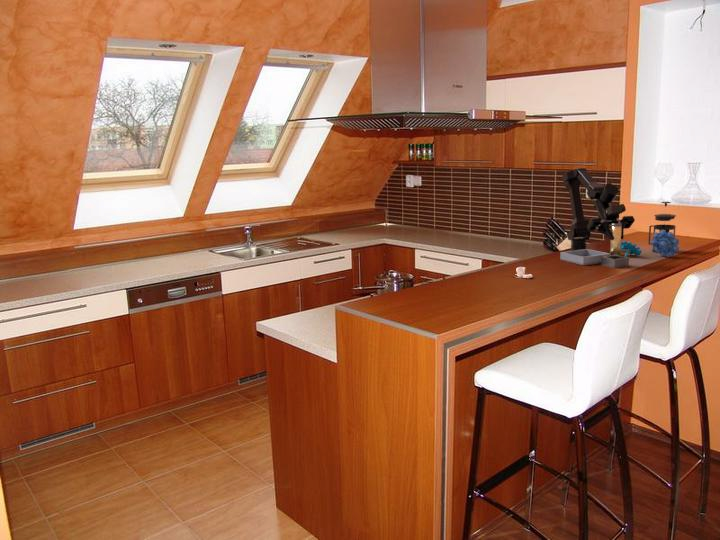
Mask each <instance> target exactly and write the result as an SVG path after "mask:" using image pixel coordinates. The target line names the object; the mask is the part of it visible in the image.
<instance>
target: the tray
mask: <svg viewBox="0 0 720 540" xmlns="http://www.w3.org/2000/svg"><path fill="white" fill-rule="evenodd" d="M559 253H560V255H559V256H560V258H559V259H560V261H563V262H568V263H573V264H575V265H580V266H589V265H596V264H601V257H604V256H612V255H611V254H610V252H609V253H608V252H604V251H599V250H594V249H588V248H586V249H583V250H575V251H571V250H568V251H560V252H559Z"/></svg>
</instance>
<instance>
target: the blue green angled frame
mask: <svg viewBox="0 0 720 540" xmlns="http://www.w3.org/2000/svg"><path fill="white" fill-rule="evenodd" d="M636 246H637V244H636V243H633V244H632V242H631V241H628V242H627V241H626V240H623V241H622V240H621V253H620V254H624V253H625V254H624V256H623V257H628V256H633V255H634V256H641V254H642V251H643V250H642V249H641V247H640V246H637V247H636ZM618 256H620V255H618Z"/></svg>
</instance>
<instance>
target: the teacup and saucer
mask: <svg viewBox="0 0 720 540" xmlns="http://www.w3.org/2000/svg"><path fill="white" fill-rule="evenodd" d="M515 270H516V275H517V278H527V279H531V278H533V274H531V273H530V274H526V273H525V272H526V267H524V266H518V267H516V269H515Z"/></svg>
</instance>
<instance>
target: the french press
mask: <svg viewBox="0 0 720 540" xmlns="http://www.w3.org/2000/svg"><path fill="white" fill-rule="evenodd" d="M671 203H672V201H662V202H660V204H664V207H665V208H664V213H659V214H654V217H655V218H654V220H655V221H659V222H664V223H663V224H654V225H652V224H651V225H649V227H648V229H649V231H648V245H652V250H651V252H653V253H656V254H660V252H656V251H655V250H654V247H655V245H653V244H652V243H651V240H652V239H655V238H654V233H656V230H658V231H659V232H658V233H659V234H660V231H661V230H665V231H666V232H667V233H668V232H670V230H673V234H674V238H676V227H677V226H676V225H675V224H666V222H670V221H671V220H674V219H675V218H676V217H677V215H676V214H671V213H667V207H668V204H671ZM652 227H653V232H652ZM652 233H653V236H652ZM651 237H653V238H652V239H651Z"/></svg>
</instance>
